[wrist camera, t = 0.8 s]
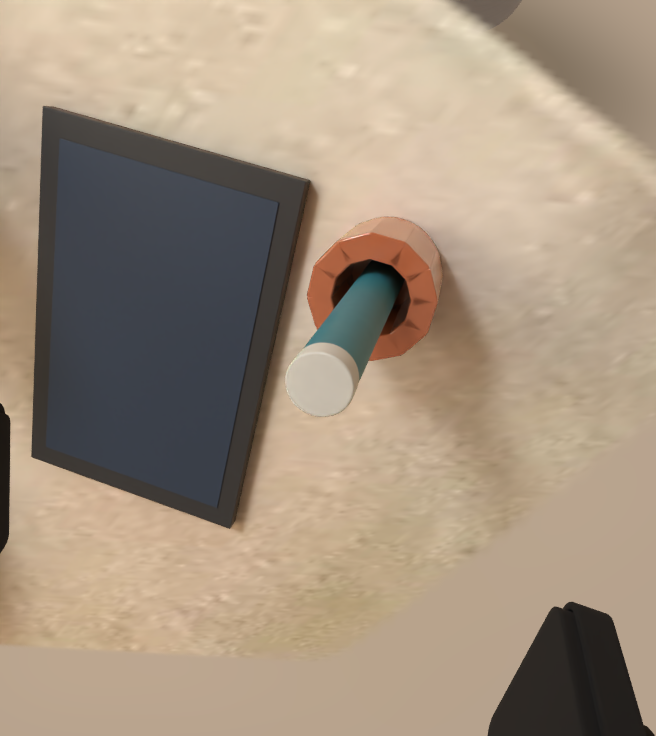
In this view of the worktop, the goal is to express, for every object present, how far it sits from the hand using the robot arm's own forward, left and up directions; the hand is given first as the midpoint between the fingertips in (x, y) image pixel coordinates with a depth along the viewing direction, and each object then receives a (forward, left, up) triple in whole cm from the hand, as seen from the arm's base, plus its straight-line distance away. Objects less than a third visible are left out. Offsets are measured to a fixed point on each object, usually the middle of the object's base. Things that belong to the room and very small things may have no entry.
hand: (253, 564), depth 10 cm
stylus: (0, -1, -19) cm, 19 cm away
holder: (0, -1, -20) cm, 20 cm away
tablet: (+7, -12, -20) cm, 24 cm away
